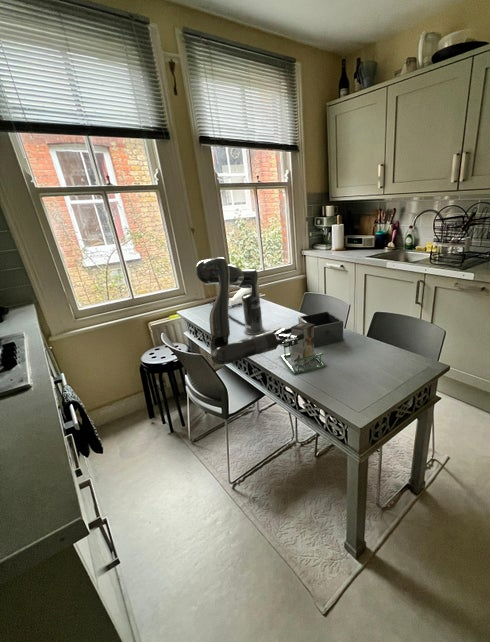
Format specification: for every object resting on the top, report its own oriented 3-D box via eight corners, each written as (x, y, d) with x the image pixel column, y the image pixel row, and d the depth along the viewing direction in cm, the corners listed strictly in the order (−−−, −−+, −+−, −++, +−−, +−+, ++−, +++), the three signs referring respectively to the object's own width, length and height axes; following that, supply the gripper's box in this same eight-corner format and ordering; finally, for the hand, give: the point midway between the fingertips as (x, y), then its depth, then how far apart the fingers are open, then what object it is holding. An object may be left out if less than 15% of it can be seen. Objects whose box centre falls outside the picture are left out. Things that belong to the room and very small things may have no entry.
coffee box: (301, 355, 142) (302, 321, 137) (313, 358, 139) (315, 324, 134) (290, 362, 135) (290, 326, 129) (303, 366, 132) (304, 329, 126)
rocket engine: (222, 294, 205) (245, 282, 213) (220, 301, 215) (242, 290, 223) (232, 308, 204) (254, 296, 212) (229, 315, 214) (251, 303, 222)
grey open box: (299, 334, 163) (298, 316, 159) (327, 328, 169) (327, 311, 165) (312, 347, 149) (311, 327, 145) (343, 340, 155) (343, 321, 151)
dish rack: (280, 357, 142) (279, 344, 139) (309, 350, 146) (308, 338, 144) (294, 374, 128) (293, 360, 125) (325, 366, 132) (325, 353, 130)
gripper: (270, 340, 116) (307, 329, 123) (254, 328, 127) (288, 319, 135) (272, 358, 119) (308, 346, 127) (256, 345, 130) (290, 335, 138)
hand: (298, 332), depth 131 cm, fingers open, 8 cm apart
